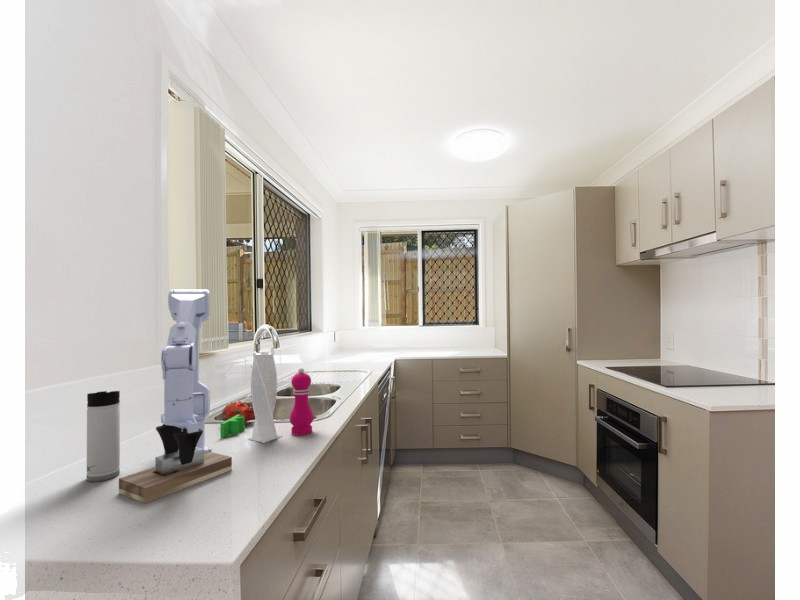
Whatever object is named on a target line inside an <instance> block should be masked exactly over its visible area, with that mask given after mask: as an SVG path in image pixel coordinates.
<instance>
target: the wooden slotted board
mask: <svg viewBox="0 0 800 600" xmlns="http://www.w3.org/2000/svg"><path fill="white" fill-rule="evenodd" d="M232 464H233V458H232V456H228V455H225V454H220V453H216V452H213V451H204V463H201V464H199V465H196V466H193V467H187V468H184V469H180V470H177V471H173V474H170V475H167V476H162V475H159V473H158V472H156V466H154V467H150V468H148V469H144V470H141V471H138V472H136V473H135V472H134V473H132V474H129V475H126V476H123V477H120V478H118V494H120V495H122V496H124V497H128V498H129V499H130V498H131V499H133V500H136V501H138V502H139V503H140V502H141V503H143V504H149V503H150V502H153V501H155V500H157V499H161V498H163V497H165V496H168V495H171V494H173V493H175V492H179V491H181V490H183V488H184V489H186V488H189V487H191V486H194V485H196V484H199V483H201V482H203V481H206V480H209V479H211V478H214V477H216V476H219V475H221V474H224V473H227V472H230V471H232V470H233V469H232V467H233V465H232ZM188 486H189V487H188ZM180 489H181V490H180ZM178 490H179V491H178Z"/></svg>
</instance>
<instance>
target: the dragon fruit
mask: <svg viewBox="0 0 800 600" xmlns="http://www.w3.org/2000/svg"><path fill="white" fill-rule="evenodd" d="M221 415H222V421H223V422H224V421H226V420H228V419H230V418H232V417H234V416H236V415H241V417H245V426H248V425H250V424H252V423H251V422H249V421H253V420H254V421H255V414H254V410H253V406H252V407H251V405H250V404H249V403H246V402H245V401H243V402H242V401H241V400H240V401H238V402H237V401H231V402H230V403H228V404H226V406H225V407H224V408H223V410H222V411H221Z"/></svg>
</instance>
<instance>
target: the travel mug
mask: <svg viewBox="0 0 800 600" xmlns="http://www.w3.org/2000/svg"><path fill="white" fill-rule="evenodd" d="M86 395H87V397H86V399H87V404H86V481H88V482H91V481H92V482H95V483H97V481H98V482H103V481H107V480H111V479H113V478H116V477H117V476H119V474H120V472H121V471H120V468H121V467H120V466H121V465H120V463H121V462H120V459H121V456H120V454H121V451H120V450H121V446H120V445H121V444H120V443H121V441H120V440H121V430H120V429H121V415H120V414H121V405H120V404H121V399H120V396H121V394H120V390H113V391H111V390H110V391H109V392H108V391H107V390H105V391H104V390H103V391H97V392H90V393H86Z"/></svg>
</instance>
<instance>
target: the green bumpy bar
mask: <svg viewBox="0 0 800 600" xmlns="http://www.w3.org/2000/svg"><path fill="white" fill-rule="evenodd" d="M245 424H246V423H245V417H241V415H236V416H234V417H232V418H230V419H228V420H226V421H223V422H221V423H220V439H225V438H227V437H228V436H238V435H239V433H240V432H245V430H246V429H245V428H246V427H245V426H246V425H245Z"/></svg>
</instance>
